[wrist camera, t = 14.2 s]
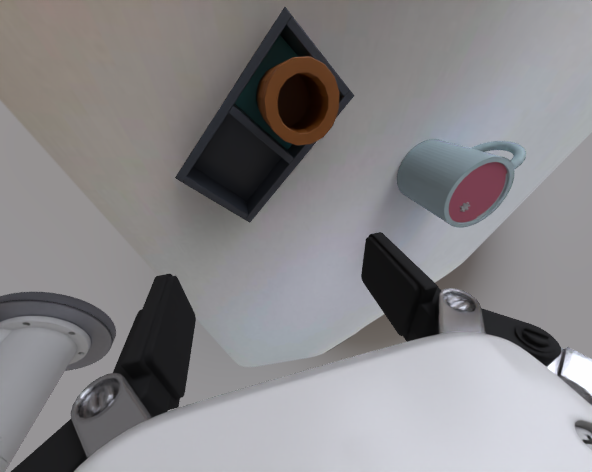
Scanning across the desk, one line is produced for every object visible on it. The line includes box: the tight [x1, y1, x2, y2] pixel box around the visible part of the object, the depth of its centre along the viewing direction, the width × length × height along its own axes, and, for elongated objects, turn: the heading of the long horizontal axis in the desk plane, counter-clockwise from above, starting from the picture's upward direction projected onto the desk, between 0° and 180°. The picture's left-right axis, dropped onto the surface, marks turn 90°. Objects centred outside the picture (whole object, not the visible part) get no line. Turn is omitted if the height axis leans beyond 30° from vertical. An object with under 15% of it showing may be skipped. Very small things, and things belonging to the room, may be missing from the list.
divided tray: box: [175, 7, 354, 222], centre depth 26 cm, size 10×18×5 cm, turn 138°
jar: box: [256, 56, 339, 145], centre depth 22 cm, size 6×6×9 cm
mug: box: [397, 139, 526, 227], centre depth 32 cm, size 14×9×10 cm
